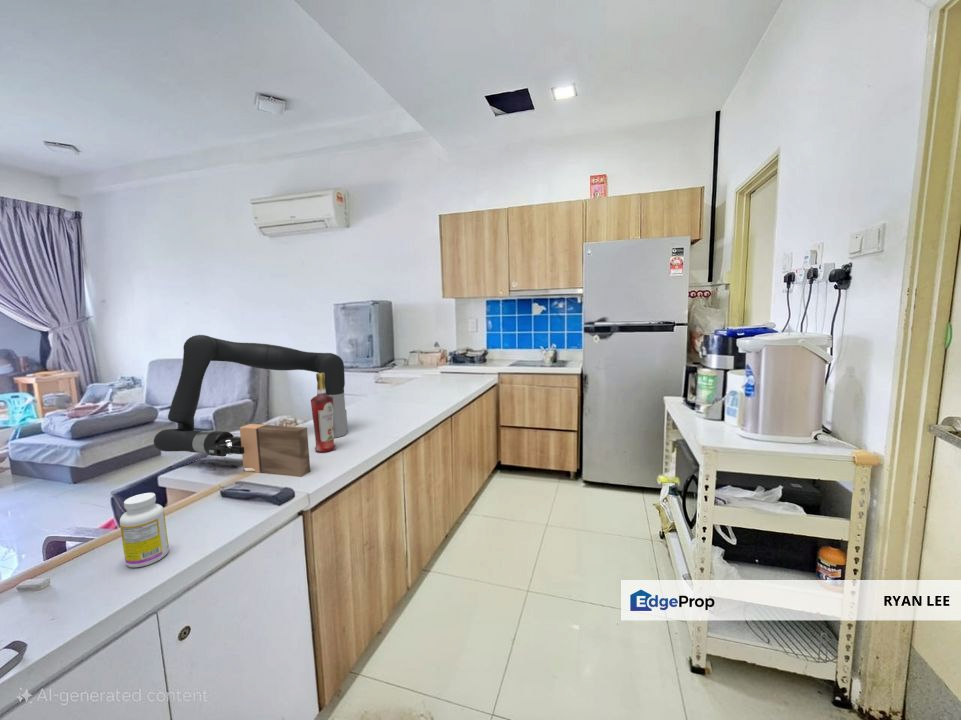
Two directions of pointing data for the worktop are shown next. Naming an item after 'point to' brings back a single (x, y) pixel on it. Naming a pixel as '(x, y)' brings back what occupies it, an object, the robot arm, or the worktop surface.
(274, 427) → the brown wooden flat block
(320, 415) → the liquor
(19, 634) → the worktop surface
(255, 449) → the light orange tall block
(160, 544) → the supplement bottle
